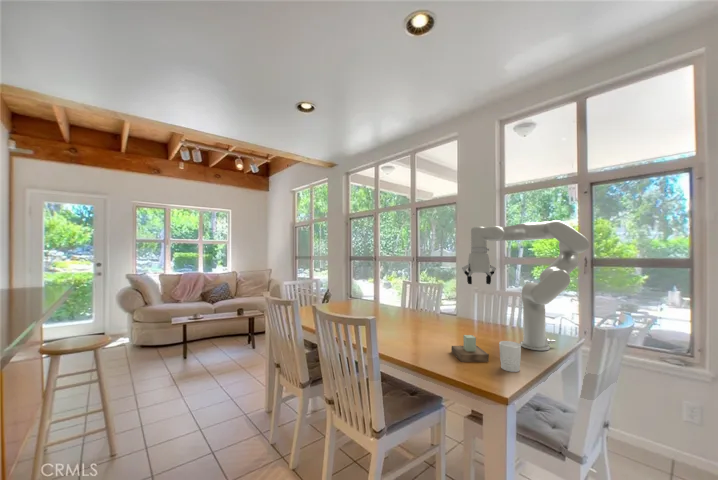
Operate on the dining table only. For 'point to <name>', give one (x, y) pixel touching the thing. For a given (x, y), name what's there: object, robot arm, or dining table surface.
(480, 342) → the dining table surface
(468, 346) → the sage block
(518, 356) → the white cup
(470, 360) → the walnut base
